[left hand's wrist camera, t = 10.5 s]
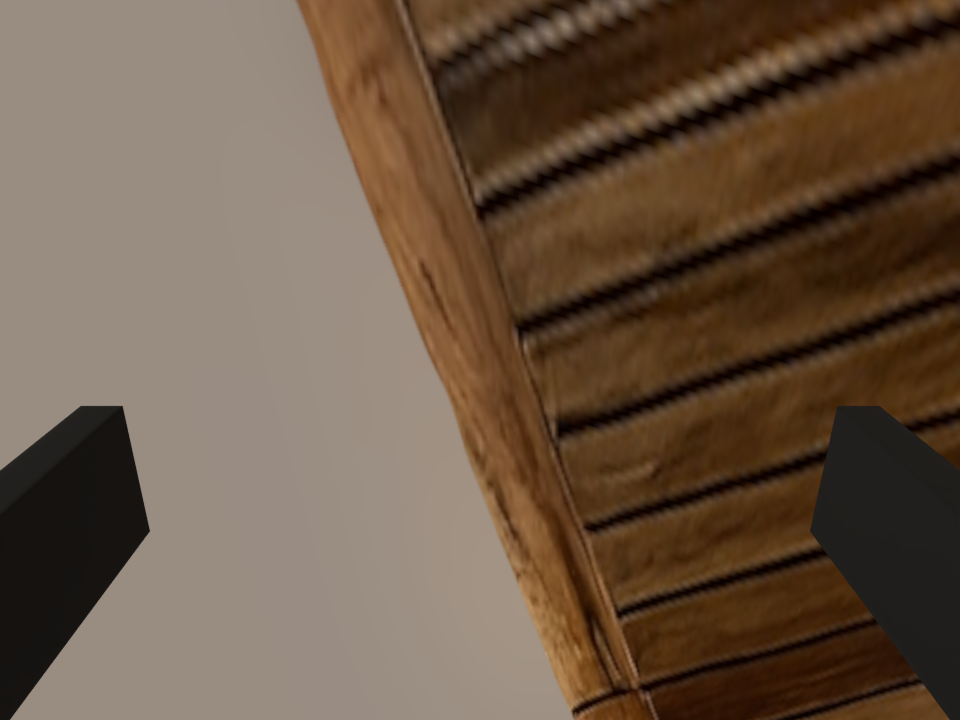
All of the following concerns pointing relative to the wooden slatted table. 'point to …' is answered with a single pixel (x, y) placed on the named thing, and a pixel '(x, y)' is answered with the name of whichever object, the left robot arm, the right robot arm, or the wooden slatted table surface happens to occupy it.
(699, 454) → the wooden slatted table surface
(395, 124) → the wooden slatted table surface
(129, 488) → the left robot arm
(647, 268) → the wooden slatted table surface
